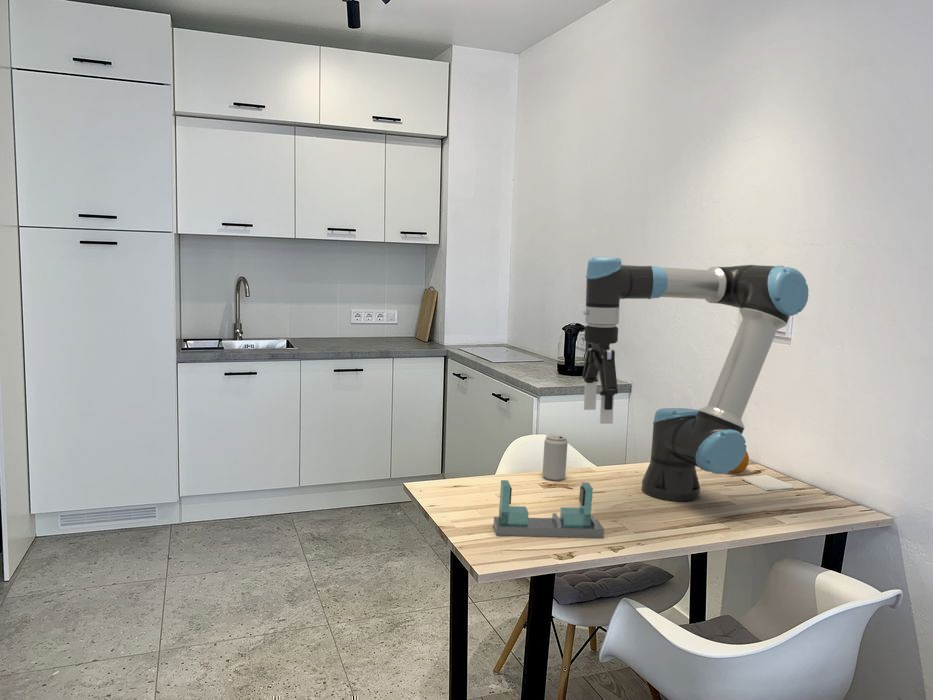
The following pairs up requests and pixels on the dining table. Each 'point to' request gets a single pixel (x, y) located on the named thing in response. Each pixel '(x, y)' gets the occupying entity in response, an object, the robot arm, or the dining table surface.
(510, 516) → the rail
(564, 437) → the beverage can
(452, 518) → the dining table surface
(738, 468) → the fruit
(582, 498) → the teal block
